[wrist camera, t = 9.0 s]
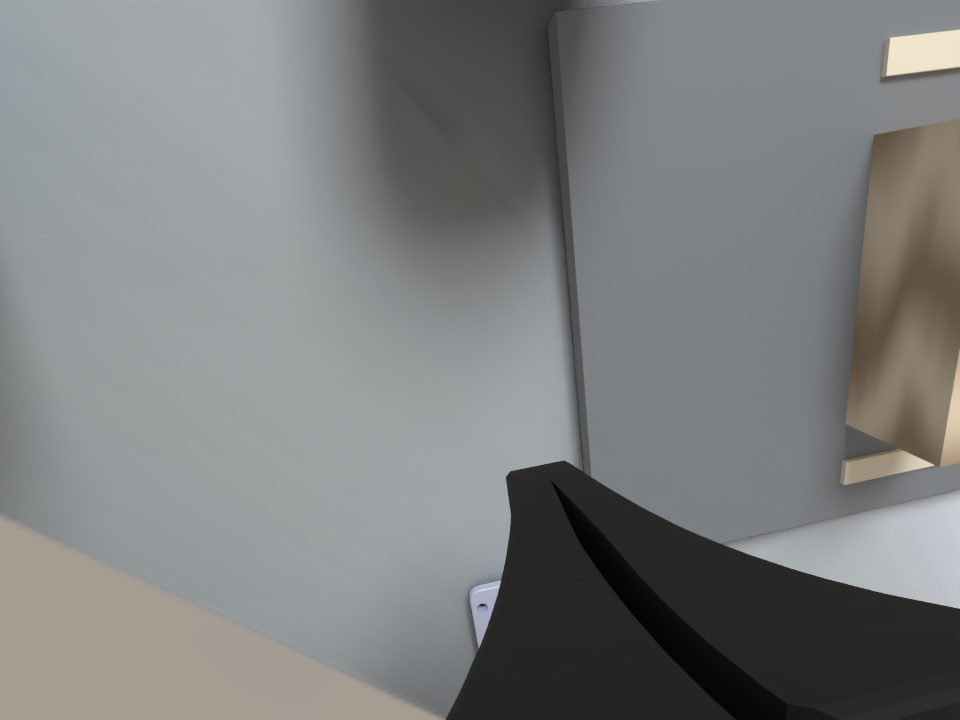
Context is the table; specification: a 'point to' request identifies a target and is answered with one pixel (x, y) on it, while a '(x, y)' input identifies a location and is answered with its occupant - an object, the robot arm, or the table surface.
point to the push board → (734, 245)
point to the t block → (910, 296)
